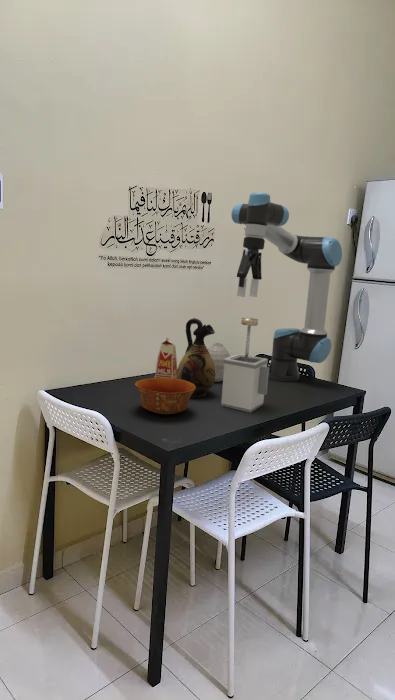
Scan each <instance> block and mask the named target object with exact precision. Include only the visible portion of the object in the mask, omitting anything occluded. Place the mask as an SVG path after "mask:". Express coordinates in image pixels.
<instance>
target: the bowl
mask: <svg viewBox="0 0 395 700" xmlns="http://www.w3.org/2000/svg"><path fill="white" fill-rule="evenodd" d="M134 387H136V389H137V392H138V394H139V398H140V404H141V406H142V408H143V409H146V410H147V411H150V412H152V413H156V414H160V415H174V414H179V413H182V412H183V411H185V410H186V409H187V408H188V407H189V406H188V405H189V402H190V399H191V398H192V397H191V395H192V393H193V392H194V391H195V389H196V386H195V385H194V384H193V383H190V382H188V381H185V380H181V379H173V378H154V377H150V378H144V379H140V380H137V381H136V382H135V385H134Z"/></svg>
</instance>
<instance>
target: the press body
mask: <svg viewBox="0 0 395 700" xmlns="http://www.w3.org/2000/svg"><path fill="white" fill-rule="evenodd" d="M268 363H269V359H268V358H265V357H259V356H252V355H248V362H245V354H241V353H238V354H235V355H232V356H231V355H230V357H229V358H226V359H225V360H224V376H223V380H222V387H221V388H222V389H221V390H222V391H221V401H220V403H221V404H220V406H221V407H224V406H225V407H226V408H228V409H234V410H237V411H238V410H239V411H243V412H247V413H252V412H254V411H255V410H257V409H259V408H260V407H261V406H263V405H264V400H265V396H266V395H267V394H268V384H269V378H268V376H269V368H268Z"/></svg>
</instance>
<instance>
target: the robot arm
mask: <svg viewBox="0 0 395 700" xmlns="http://www.w3.org/2000/svg"><path fill="white" fill-rule="evenodd" d="M248 198H249V199H248V203H238V204H235V205H234V206H233V207H232V210H231V214H230V215H231V220H232V222H234V223H235V224H239V225H245V227H244V228H243V229H244V238H243V243H242V247H243V248H245V249H243V250H242V256H241V260H240V263H239V266H238V270H237V272H236V278H238V284H237V290H236V291H237V293H236V296H237V297H240V298H241V297H242V298H246V297H245V296H246V291H247V281H248V278H247V277H248V273H249V272H250V269H251V275H252V278H251V281H250V288H249V297H253V298H257V297H258V292H259V291H258V290H259V281H260V280H262V252H259V250H261V251H262V250H264V249H265V240H267V241H268V242H270V243H271V244H273V246H275V247H277V249H278V251H279V252H280V253H281V254H282V255H284V256H285V257H287V258H290V259H291V260H293V261H295V262H297V263H300V264H304V265H305V264H306V266H307V267H306V269H307V271H308V272H309V280H308V281H309V282H308V289H307V290H308V291H307V299H306V307H305V308H306V310H305V317H304V318H305V319H304V326H303V328H301V329H299V328H279V329H275V331H274V333H273V337H272V339H273V341H272V352H271V361H270V363H269V365H268V366H267V368H269V376H268V379H271V380H274V381H280V382H297V381H299V380H300V371H299V367H298V366H299V365H298V360H303V361H305V362H310V363H314V364H315V363H316V364H321V363H323V362H325V361H326V360H327V358H328V357H329V355H330V354H331V351H332V350H331V349H332V340H331V339H330V338H329V337H328V332H327V331H326V329H325V326H326V319H327V318H326V316H327V308H328V299H329V292H330V282H331V281H330V280H331V274H332V273H333V272H334V271H335V270H336V267H338V266H339V265H340V264H341V261H342V259H343V250H342V245H341V243H340V241H339V240H338V239H336V238H335V237H328V236H308V235H307V236H304V235H297V234H296V233H294V232H291V231H290V232H288V231H287V230H286V229H284V228H283V227H282V226H284V225H286V224H287V223H288V221H289V218H290V212H289V210H288V208H287V207H286V206H283V205H281V204H279V203H275V202H271V195H270V194H269V193H267V192H266V193H265V192H260V191H259V192H256V191H255V192H251V193H250V195H249V197H248Z"/></svg>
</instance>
